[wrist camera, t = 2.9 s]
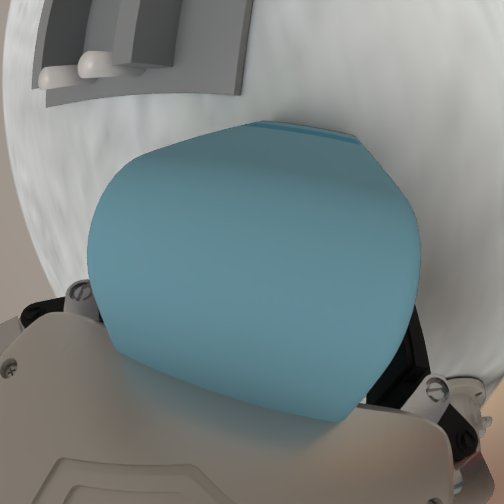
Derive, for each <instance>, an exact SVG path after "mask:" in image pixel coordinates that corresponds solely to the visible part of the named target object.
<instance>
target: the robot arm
mask: <svg viewBox="0 0 504 504" xmlns="http://www.w3.org/2000/svg"><path fill="white" fill-rule="evenodd" d="M485 397H486V393H485V388H484V385H483V383H482V382H480V381H479V380H477V379H473V378H455V379H450V380H446V379H445V378H444V377H442V376H441V375H438V374H431V371H430V366H429V361H428V355H427V351H426V346H425V341H424V337H423V333H422V329H421V326H420V322H419V318H418V314H417V310H416V307H415V304H414V308H413V312H412V315H411V318H410V322H409V325H408V328H407V330H406V333H405V335H404V338H403V340H402V342H401V344H400V346H399V348H398V350H397V352H396V354H395V356H394V357H393V359H392V361H391V362H390V364H389V365H388V367H387V368H386V369H385V371H384V372H383V373H382V375H381V376H380V378H379V379H378V380H377V381H376V383H375V384H374V385H373V387H372V388H371V389H370V390H369V392H368V393H367V395H366V404H363V403H359V404H358V405H357V406H356V407H355V409H354V410H353V411H352V412H351V413H350V414H349V415H348V417H347V418H346V419H344V420H342V421H340V422H331V421H325V420H320V419H314V418H309V417H304V416H299V415H294V414H290V413H286V412H281V411H277V410H273V409H269V408H265V407H262V406H258V405H254V404H251V403H247V402H244V401H241V400H237V399H234V398H231V397H228V396H225V395H221V394H218V393H215V392H213V391H210V390H207V389H204V388H201V387H198V386H196V385H193V384H190V383H188V382H185V381H183V380H180V379H177V378H175V377H172V376H170V375H168V374H165V373H163V372H161V371H158V370H156V369H154V368H151V367H149V366H147V365H145V364H143V363H140V362H138V361H136V360H134V359H132V358H130V357H128V356H126V355H124V354H122V353H120V352H118V351H117V350H116V349H115V348H114V346H113V343H112V341H111V339H110V336H109V334H108V331H107V329H106V326H105V324H104V321H103V319H102V316H101V314H100V311H99V308H98V305H97V303H96V300H95V297H94V294H93V291H92V288H91V284H90V280H88V279H87V280H80V281H77V282H75V283H73V284H72V285H71V286H70V287H69V288H68V289H67V292H66V296H65V297H61V298H56V299H51V300H47V301H41V302H37V303H33V304H31V305H29V306H27V307H26V308H25V309H24V310H23V312H22V314H21V317H20V318H18V316H16V317H14V318H12V319H10V320H8V321H6V322H4V323H1V324H0V504H486V503H487V502H488V501H489V499H490V498H491V497H492V495H493V492H494V487H495V484H494V480H493V478H492V475H491V473H490V471H489V469H488V466H487V464H486V462H485V460H484V458H483V456H482V454H481V448H480V438H481V437H482V436H483V435H484V433H485V431H486V428H487V427H489V426H490V425H491V423H492V418H491V417H482V418H481V412H480V407H481V405H482V404H483V402H484V400H485Z"/></svg>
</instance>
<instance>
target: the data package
mask: <svg viewBox="0 0 504 504" xmlns="http://www.w3.org/2000/svg"><path fill="white" fill-rule="evenodd" d="M420 261H421V255H420V237H419V230H418V225H417V220H416V217H415V214H414V211H413V209H412V207H411V205H410V203H409V202H408V200H407V199H406V197H405V196H404V195H403V193H402V192H401V191H400V189H399V188H398V187H397V185H396V184H395V183H394V182H393V180H392V179H391V178H390V176H389V175H388V174H387V173H386V171H385V170H384V169H383V168H382V167H381V165H380V164H379V163H378V162H377V161H376V159H375V158H374V157H373V156H372V155H371V154H370V152H369V151H368V150H367V149H366V148H365V147H364V146H363V145H362V143H361V142H360V141H359V140H358V139H357V138H356V137H355V136H353V135H349V134H344V133H340V132H335V131H330V130H324V129H319V128H313V127H307V126H301V125H295V124H288V123H280V122H272V121H259V122H255V123H250V124H245V125H241V126H237V127H233V128H229V129H225V130H221V131H217V132H213V133H209V134H206V135H202V136H199V137H195V138H192V139H188V140H185V141H182V142H179V143H176V144H172V145H169V146H166V147H163V148H160V149H157V150H155V151H152V152H149V153H146V154H143V155H141V156H139V157H137V158H135V159H133V160H132V161H130V162H129V163H128V164H126V165H125V166H124V167H123V168H122V169H121V170H120V171H119V172H118V173H117V174H116V175H115V176H114V178H113V179H112V180H111V182H110V183H109V184H108V186H107V188H106V189H105V191H104V193H103V194H102V196H101V198H100V200H99V203H98V205H97V207H96V210H95V213H94V216H93V219H92V222H91V227H90V231H89V237H88V246H87V266H88V274H89V280H90V284H91V288H92V291H93V294H94V297H95V300H96V303H97V305H98V308H99V311H100V314H101V316H102V319H103V321H104V324H105V326H106V329H107V331H108V334H109V336H110V339H111V341H112V343H113V346H114V348H115V349H116V350H117V351H118V352H120V353H122V354H124V355H126V356H128V357H130V358H132V359H134V360H136V361H138V362H140V363H143V364H145V365H147V366H149V367H151V368H154V369H156V370H158V371H161V372H163V373H165V374H168V375H170V376H172V377H175V378H177V379H180V380H183V381H185V382H188V383H190V384H193V385H196V386H198V387H201V388H204V389H207V390H210V391H213V392H215V393H218V394H221V395H225V396H228V397H231V398H234V399H237V400H241V401H244V402H247V403H251V404H254V405H258V406H262V407H265V408H269V409H273V410H277V411H281V412H286V413H290V414H294V415H299V416H304V417H309V418H314V419H320V420H325V421H331V422H340V421H342V420H344V419H346V418H347V417H348V415H349V414H350V413H351V412H352V411H353V410H354V409H355V407H356V406H357V405H358V404H359V403H360V401H361V400H362V399H363V398H364V397H365V395H366V394H367V393H368V392H369V390H370V389H371V388H372V387H373V385H374V384H375V383H376V381H377V380H378V379H379V378H380V376H381V375H382V373H383V372H384V371H385V369H386V368H387V367H388V365H389V364H390V362H391V361H392V359H393V357H394V356H395V354H396V352H397V350H398V348H399V346H400V344H401V342H402V340H403V338H404V335H405V333H406V330H407V328H408V325H409V322H410V318H411V315H412V312H413V308H414V304H415V300H416V295H417V290H418V283H419V275H420Z"/></svg>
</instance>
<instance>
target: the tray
mask: <svg viewBox="0 0 504 504" xmlns="http://www.w3.org/2000/svg"><path fill="white" fill-rule="evenodd" d="M252 4H253V0H45V2H44V5H43V10H42V14H41V18H40V23H39V28H38V34H37V40H36V46H35V54H34V63H33V74H32V89H36V88H40V89H41V90H46V108H47V107H52V106H56V105H61V104H66V103H72V102H77V101H83V100H90V99H97V98H104V97H113V96H123V95H135V94H152V93H211V94H228V95H240V93H241V84H242V76H243V68H244V61H245V53H246V46H247V38H248V31H249V24H250V17H251V11H252Z"/></svg>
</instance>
